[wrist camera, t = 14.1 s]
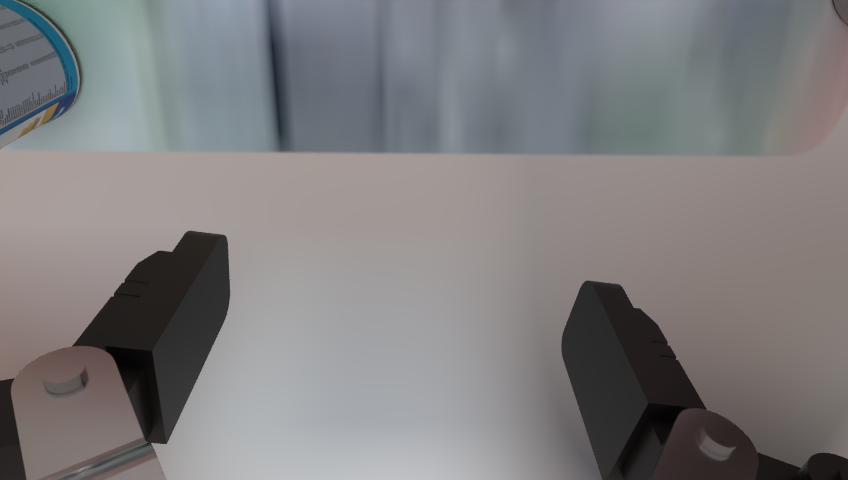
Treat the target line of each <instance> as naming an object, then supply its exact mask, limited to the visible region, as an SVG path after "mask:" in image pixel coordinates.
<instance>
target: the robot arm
mask: <svg viewBox="0 0 848 480" xmlns="http://www.w3.org/2000/svg"><path fill="white" fill-rule="evenodd" d="M834 5H835V8H836V10H837V12H838V14H839V15H840V17H841V19H842V20H843V21H844V22H845V23H847V24H848V0H834ZM228 261H229V260H228V242H227V238H226V236H225V235H220V234H212V233H203V232H196V231H188V232H186V233H185V235H184V236H183V237H182V239H181V240H180V242H179V243H178V245H177V246H176V247H175V249H174V250H173V252H166V251H157V252H156V253H154V254H152V255H151V256H149V257H147V258H146V259H144V260H143V261H141V262H139V263H138V264H137V265H136V266H135V267H134V269H133V270H132V271H131V272H130V274H129V275H128V276H127V277H126V279H125V282H124V283H122V284H121V285H120V286H119V288H118V289H117V290H116V291H115V293H114V297H111V298H110V299H109V300H108V302H107V303H106V304H105V305H104V307H103V308H102V309H101V310H100V312H99V313H98V314H97V315H96V317H95V318H94V319H93V321H92V322H91V323H90V324H89V326H88V327H87V328H86V329H85V331H84V332H83V333H82V335H81V336H80V337H79V338H78V340H77V341H76V342H75V344H74V345H73V346H72V347H67V348H62V349H58V350H55V351H52V352H49V353H47V354H45V355H42V356H40V357H38V358H37V359H35V360H34V361H32V362H30V363H29V364H28V365H26V366H25V367H24V368H23V369H22V370H21V371H20V372H19V373H18V375H17V376H16V377H15V378H14V379H8V380H3V381H0V480H166V478H165V475H164V473H163V471H162V468H161V465H160V462H159V460H158V457H157V455H156V452H155V450H154V448H153V446H152V444H151V443H160V444H167V442H168V440H169V438H170V436H171V434H172V431H173V429H174V427H175V425H176V423H177V421H178V419H179V416H180V414H181V412H182V410H183V408H184V406H185V404H186V401H187V399H188V397H189V395H190V393H191V391H192V389H193V387H194V385H195V382H196V380H197V378H198V376H199V374H200V372H201V369H202V367H203V365H204V363H205V361H206V359H207V357H208V355H209V352H210V350H211V348H212V346H213V344H214V342H215V340H216V337H217V335H218V333H219V331H220V329H221V327H222V325H223V322H224V320H225V318H226V315H227V311H228V306H229V299H230V281H229V262H228ZM667 343H668V342H667V340H666V339H665V337H664V335H663V333H662V332H661V330H660V328H659V326H658V325H657V324H656V323H655V322H654V321H653V320H652V319H651V318H650V317H649V316H647V315H646V314H645V313H644V312H643V311H642V310H641V309H638V308H633V306H632V304H631V302H630V300H629V298H628V297H627V295H626V293H625V291H624V289H623V288H622V287H621V286H620V285H619V284H611V283H603V282H595V281H585V282H584V283H583V284H582V286H581V288H580V290H579V293H578V296H577V298H576V301H575V303H574V306H573V308H572V311H571V313H570V316H569V319H568V321H567V324H566V326H565V329H564V332H563V336H562V356H563V360H564V363H565V366H566V369H567V372H568V375H569V378H570V381H571V384H572V387H573V391H574V394H575V397H576V400H577V403H578V406H579V409H580V412H581V415H582V418H583V421H584V424H585V427H586V431H587V434H588V436H589V440H590V443H591V446H592V449H593V452H594V455H595V458H596V461H597V464H598V467H599V470H600V473H601V476H602V479H603V480H848V459H846V458H844V457H841V456H838V455H835V454H830V453H818V454H815V455H813V456H811V457H810V458H809V459H808V461H807V462H806V463H805V464H804V465H803V467H802V468H799V467H796V466H793V465H791V464H788V463H785V462H783V461H780V460H777V459H774V458H771V457H769V456H766V455H763V454H760V453H758V452H757V450H756V447H755V446H754V444H753V442H752V441H751V440H750V438H749V437H748V436H747V435H746V434H745V433H744V432H743V430H741V429H740V428H739V427H738V426H737V425H736V424H734V423H733V422H731V421H730V420H728V419H727V418H725V417H723V416H721V415H719V414H717V413H715V412H712V411H709V410H707V409H706V407H705V406H704V404H703V402H702V401H701V399H700V398H699V395H698V394H697V392H696V390H695V388H694V387H693V385H692V383H691V382H690V380H689V378H688V377H687V375H686V373H685V371H684V370H683V368H682V366H681V364H680V363H679V361H678V360H676V356H675V354H674V352H673V351H672V349H671V347H670V346H668V345H667ZM146 442H148V443H146Z"/></svg>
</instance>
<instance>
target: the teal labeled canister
mask: <svg viewBox="0 0 848 480" xmlns="http://www.w3.org/2000/svg"><path fill="white" fill-rule="evenodd" d="M79 84H80V76H79V69H78V65H77V61H76V58H75V56H74V54H73V51H72V49H71V47H70V46H69V44H68V42H67V41H66V39H65V38H64V37H63V35H62V34H61V33H60V31H59V30H58V29H57V28H56V27H55V26H54V25H53V24H52V23H51V22H50V21H49V20H48V19H47V18H45V17H44V16H43V15H42V14H40V13H39V12H37V11H36V10H34V9H33V8H31V7H29V6H28V5H26V4H24V3H22V2H19V1H17V0H0V149H1V148H3V147H5V146H6V145H8V144H10V143H11V142H13V141H15V140H16V139H18V138H20V137H21V136H23V135H25V134H26V133H28V132H30V131H31V130H33V129H35V128H36V127H38V126H40V125H42V124H45V123H48V122H50V121H52V120H54V119H56V118H57V117H59V116H61V115H62V114H64V113H65V112H66V111H67V110H68V109H69V108H70V107H71V106H72V104H73V103H74V101H75V99H76V97H77V94H78V90H79Z"/></svg>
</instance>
